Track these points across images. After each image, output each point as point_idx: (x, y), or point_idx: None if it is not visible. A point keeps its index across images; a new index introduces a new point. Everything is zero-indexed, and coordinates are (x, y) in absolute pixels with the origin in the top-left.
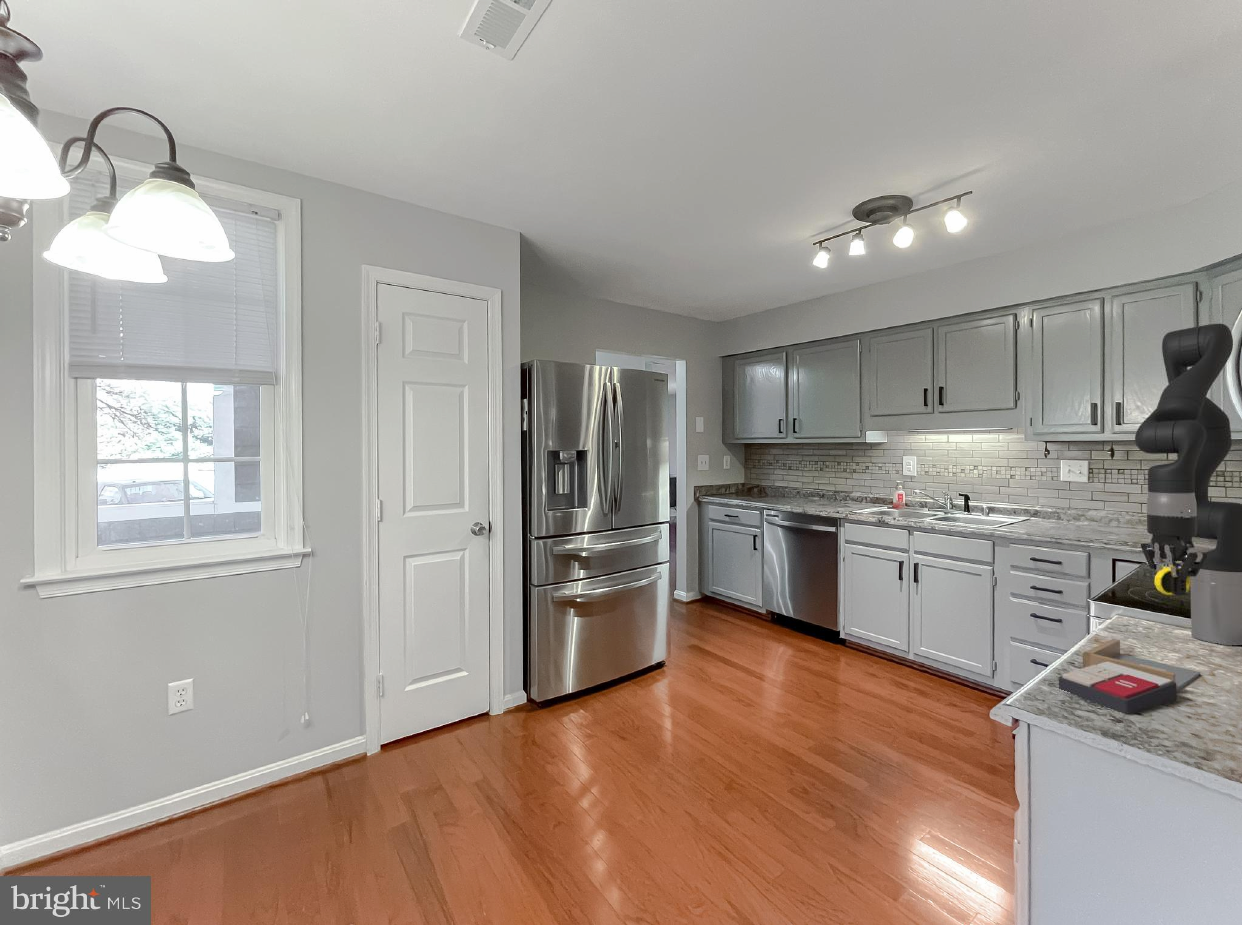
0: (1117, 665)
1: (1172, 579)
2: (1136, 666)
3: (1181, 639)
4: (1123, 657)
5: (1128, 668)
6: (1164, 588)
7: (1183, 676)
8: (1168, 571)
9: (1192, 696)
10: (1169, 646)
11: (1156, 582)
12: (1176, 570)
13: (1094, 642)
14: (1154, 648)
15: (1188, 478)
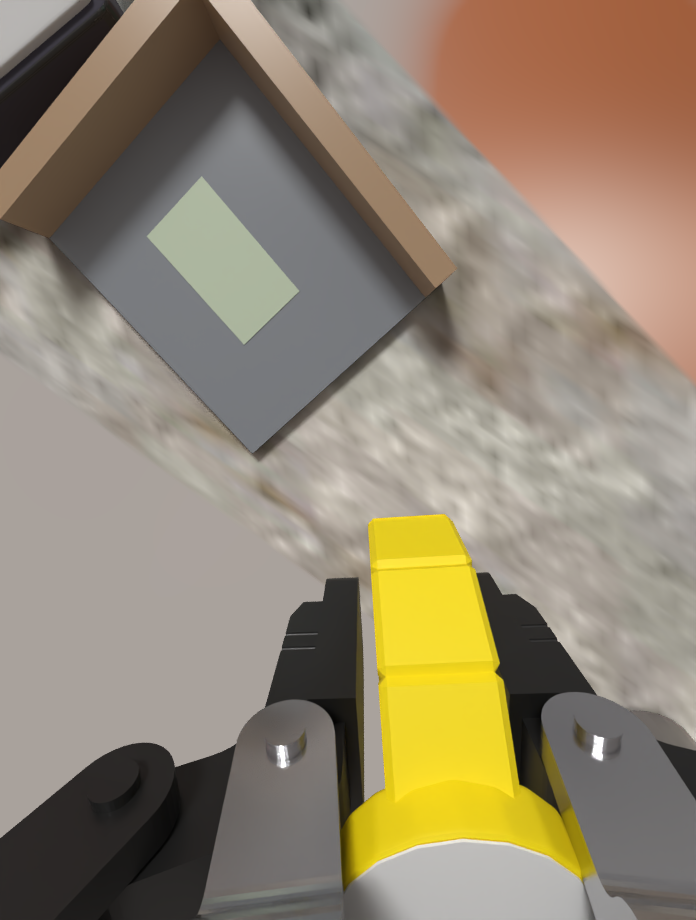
0: (38, 7)
1: (327, 675)
2: (53, 103)
3: (634, 661)
4: (376, 278)
5: (6, 36)
6: None
7: (192, 362)
8: (388, 766)
9: (37, 276)
10: (554, 567)
11: (421, 526)
12: (224, 837)
13: (601, 307)
14: (529, 499)
15: None
